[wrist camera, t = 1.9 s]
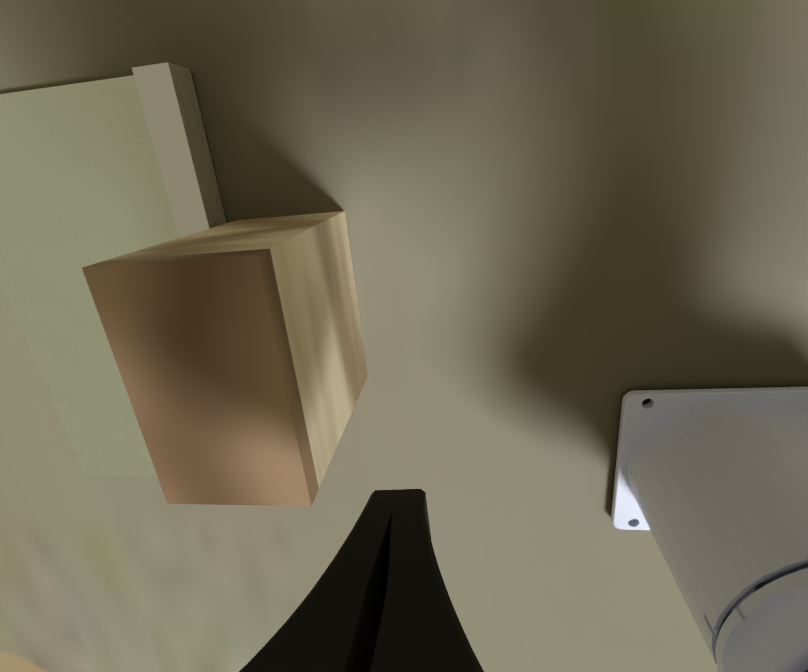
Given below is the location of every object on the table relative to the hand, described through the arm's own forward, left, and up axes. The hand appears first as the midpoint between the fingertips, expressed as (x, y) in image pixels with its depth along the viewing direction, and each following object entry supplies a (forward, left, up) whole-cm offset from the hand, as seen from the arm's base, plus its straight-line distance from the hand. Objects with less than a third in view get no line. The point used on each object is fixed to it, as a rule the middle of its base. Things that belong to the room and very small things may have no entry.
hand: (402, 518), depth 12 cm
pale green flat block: (+15, -3, -10) cm, 19 cm away
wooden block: (+6, -3, -11) cm, 12 cm away
